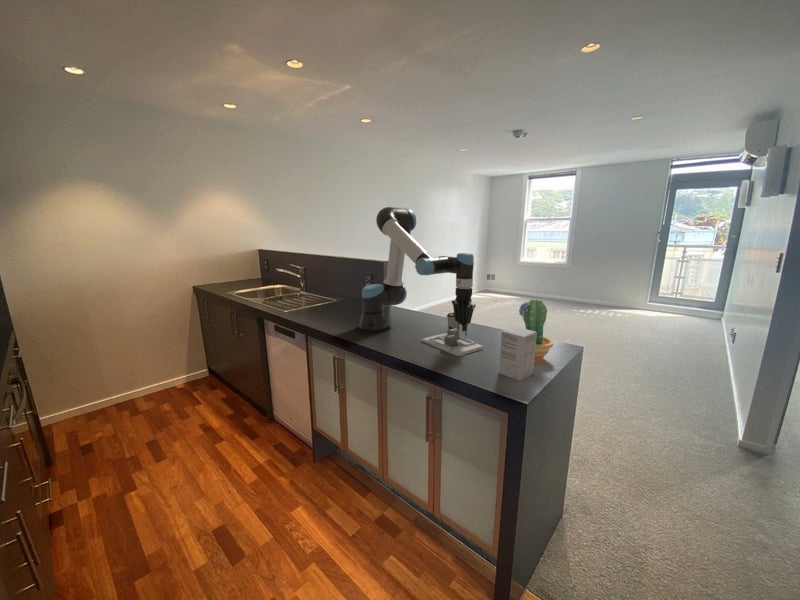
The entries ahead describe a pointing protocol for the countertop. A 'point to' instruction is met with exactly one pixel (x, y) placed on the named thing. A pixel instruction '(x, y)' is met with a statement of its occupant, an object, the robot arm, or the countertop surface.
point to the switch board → (461, 349)
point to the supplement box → (517, 353)
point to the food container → (453, 322)
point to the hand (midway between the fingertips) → (461, 337)
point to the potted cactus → (536, 326)
